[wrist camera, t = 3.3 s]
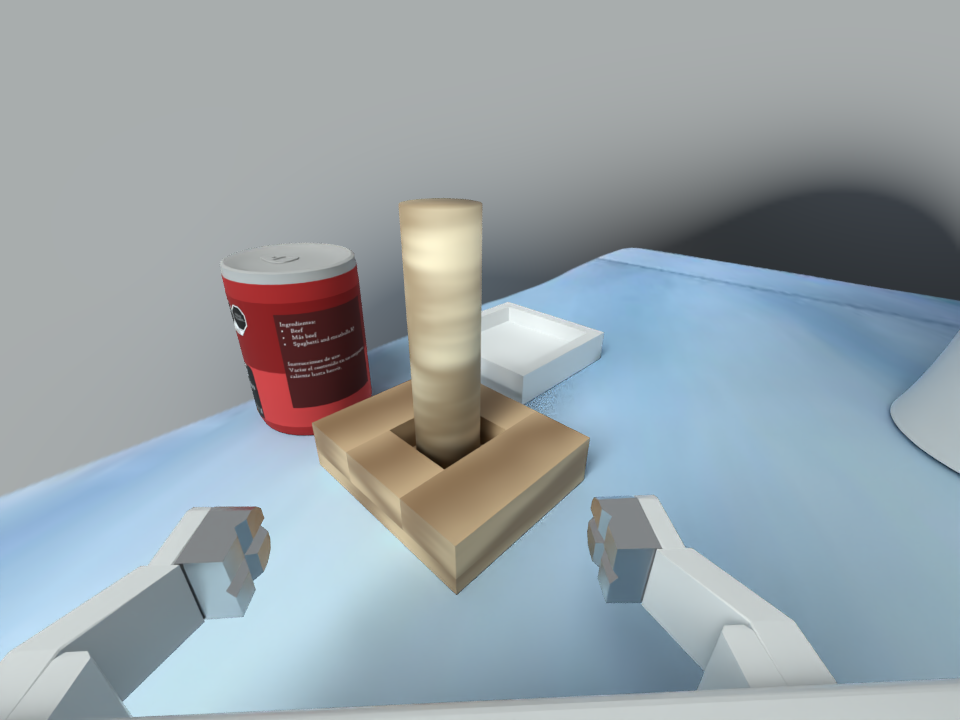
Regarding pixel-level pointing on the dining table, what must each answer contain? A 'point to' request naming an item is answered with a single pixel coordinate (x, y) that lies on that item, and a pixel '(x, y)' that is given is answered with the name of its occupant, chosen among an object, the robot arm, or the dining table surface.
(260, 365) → the canned food
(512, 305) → the tray
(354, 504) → the dining table surface
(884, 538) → the dining table surface
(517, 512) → the socket block
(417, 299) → the dowel
